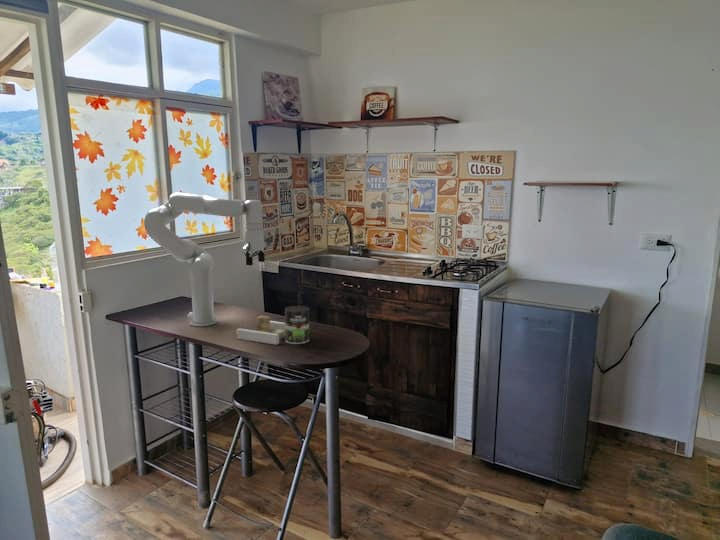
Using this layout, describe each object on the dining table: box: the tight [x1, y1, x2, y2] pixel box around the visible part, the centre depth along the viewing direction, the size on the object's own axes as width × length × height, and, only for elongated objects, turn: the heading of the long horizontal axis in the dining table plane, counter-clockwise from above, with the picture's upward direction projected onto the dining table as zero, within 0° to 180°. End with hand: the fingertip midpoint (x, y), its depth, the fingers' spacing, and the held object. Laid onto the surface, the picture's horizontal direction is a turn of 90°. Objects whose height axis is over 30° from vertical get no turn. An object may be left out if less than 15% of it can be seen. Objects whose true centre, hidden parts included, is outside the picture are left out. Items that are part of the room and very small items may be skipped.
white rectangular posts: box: [235, 320, 285, 346], centre depth 217 cm, size 20×17×4 cm
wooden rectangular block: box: [256, 315, 285, 340], centre depth 215 cm, size 12×4×8 cm, turn 68°
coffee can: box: [284, 304, 310, 345], centre depth 210 cm, size 10×10×14 cm
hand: (255, 263), depth 232 cm, fingers open, 9 cm apart
